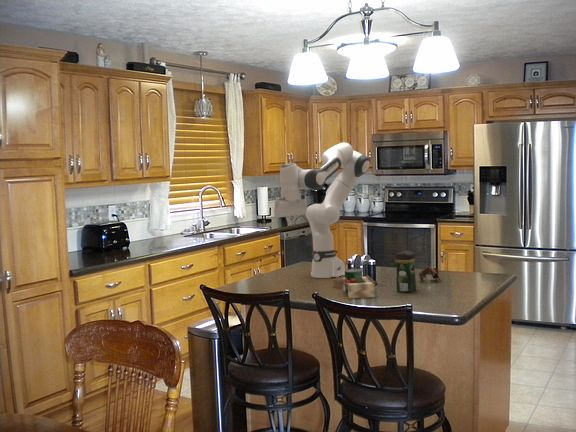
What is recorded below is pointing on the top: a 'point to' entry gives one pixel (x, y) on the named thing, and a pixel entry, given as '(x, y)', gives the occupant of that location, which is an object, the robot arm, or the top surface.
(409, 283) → the coffee jar
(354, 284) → the holder
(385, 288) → the top surface
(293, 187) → the robot arm
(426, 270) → the brown arched piece
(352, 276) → the canned tomato
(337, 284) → the walnut block
